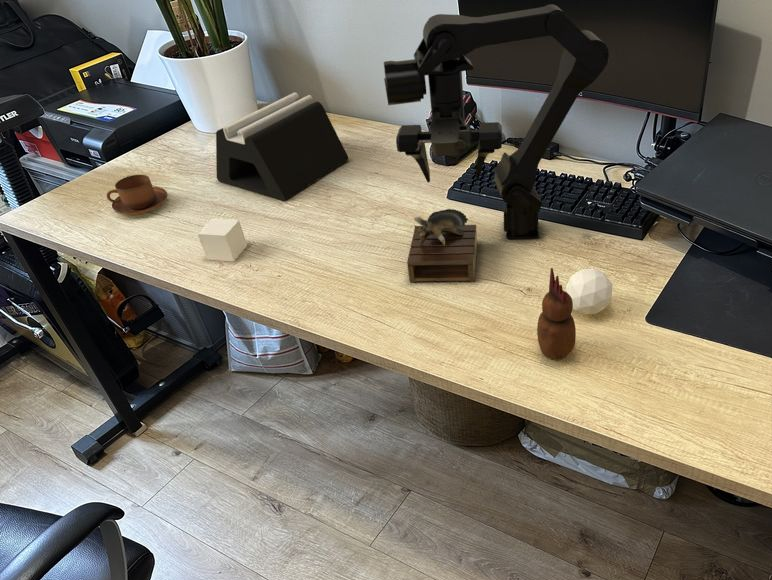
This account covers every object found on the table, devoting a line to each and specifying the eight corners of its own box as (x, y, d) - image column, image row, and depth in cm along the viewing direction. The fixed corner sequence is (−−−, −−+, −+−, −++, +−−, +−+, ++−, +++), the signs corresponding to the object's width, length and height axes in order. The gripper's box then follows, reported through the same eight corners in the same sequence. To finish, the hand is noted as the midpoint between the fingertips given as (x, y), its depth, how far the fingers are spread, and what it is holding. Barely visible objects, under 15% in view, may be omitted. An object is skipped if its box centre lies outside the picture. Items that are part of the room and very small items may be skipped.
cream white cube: (221, 243, 136) (212, 218, 132) (247, 245, 135) (239, 219, 131) (206, 259, 131) (197, 233, 127) (233, 261, 130) (224, 235, 126)
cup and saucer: (126, 225, 144) (114, 200, 140) (107, 207, 151) (96, 182, 147) (178, 205, 149) (168, 181, 145) (158, 189, 156) (148, 164, 152)
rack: (477, 243, 130) (476, 224, 127) (474, 281, 120) (472, 261, 117) (417, 244, 131) (415, 225, 128) (409, 282, 121) (406, 262, 118)
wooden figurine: (534, 339, 107) (534, 263, 97) (568, 336, 107) (573, 259, 97) (541, 367, 102) (542, 290, 92) (577, 364, 102) (583, 286, 92)
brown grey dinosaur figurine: (432, 253, 118) (474, 230, 120) (414, 217, 116) (456, 194, 118) (423, 254, 125) (462, 233, 127) (405, 221, 124) (446, 199, 125)
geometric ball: (575, 317, 115) (561, 274, 114) (620, 303, 113) (605, 259, 112) (571, 324, 108) (556, 278, 107) (619, 309, 105) (604, 262, 105)
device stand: (349, 161, 162) (337, 101, 152) (285, 201, 148) (268, 138, 138) (283, 145, 171) (269, 87, 161) (218, 181, 158) (197, 120, 148)
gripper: (386, 117, 107) (398, 203, 118) (499, 114, 106) (501, 200, 116) (395, 93, 116) (406, 174, 126) (501, 89, 114) (502, 172, 124)
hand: (453, 180), depth 123 cm, fingers open, 9 cm apart
